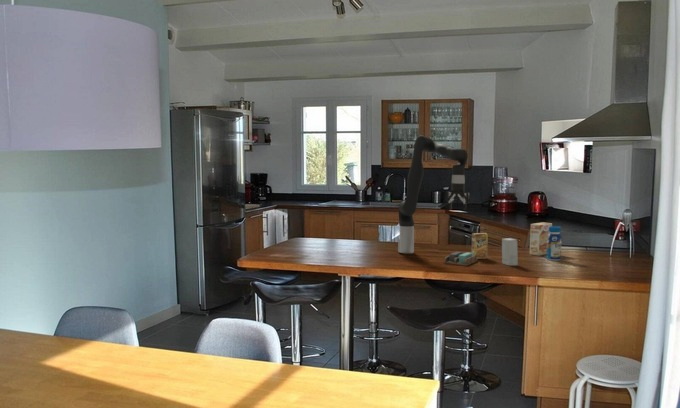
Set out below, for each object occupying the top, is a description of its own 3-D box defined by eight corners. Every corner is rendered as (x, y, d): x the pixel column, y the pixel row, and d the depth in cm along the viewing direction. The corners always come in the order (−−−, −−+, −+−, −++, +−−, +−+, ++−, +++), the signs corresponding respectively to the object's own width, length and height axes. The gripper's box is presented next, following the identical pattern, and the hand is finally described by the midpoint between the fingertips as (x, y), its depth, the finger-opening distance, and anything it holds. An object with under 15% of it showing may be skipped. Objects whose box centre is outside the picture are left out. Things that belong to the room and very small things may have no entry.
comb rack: (466, 265, 335) (466, 259, 335) (443, 263, 343) (443, 257, 342) (477, 260, 350) (477, 255, 350) (455, 258, 358) (455, 252, 358)
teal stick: (466, 259, 351) (466, 252, 351) (472, 259, 349) (472, 252, 349) (458, 262, 341) (458, 255, 341) (464, 262, 339) (464, 255, 339)
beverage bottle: (550, 257, 362) (551, 225, 360) (563, 259, 356) (564, 226, 354) (543, 259, 356) (544, 226, 354) (557, 261, 350) (558, 228, 348)
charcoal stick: (456, 258, 354) (456, 251, 354) (462, 258, 352) (462, 252, 352) (449, 261, 344) (449, 254, 344) (454, 261, 342) (454, 254, 342)
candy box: (474, 259, 356) (475, 234, 354) (470, 258, 360) (471, 233, 358) (487, 258, 358) (488, 233, 357) (483, 257, 362) (484, 232, 361)
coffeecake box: (539, 255, 369) (540, 224, 367) (528, 254, 374) (529, 223, 373) (551, 253, 379) (552, 223, 377) (541, 251, 384) (542, 222, 383)
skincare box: (517, 265, 337) (518, 239, 336) (508, 265, 336) (508, 240, 334) (510, 262, 345) (511, 237, 344) (500, 263, 344) (501, 237, 342)
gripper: (444, 182, 351) (443, 209, 352) (467, 183, 343) (466, 211, 345) (449, 181, 357) (448, 208, 359) (471, 182, 350) (471, 209, 351)
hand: (457, 209), depth 352 cm, fingers open, 8 cm apart
